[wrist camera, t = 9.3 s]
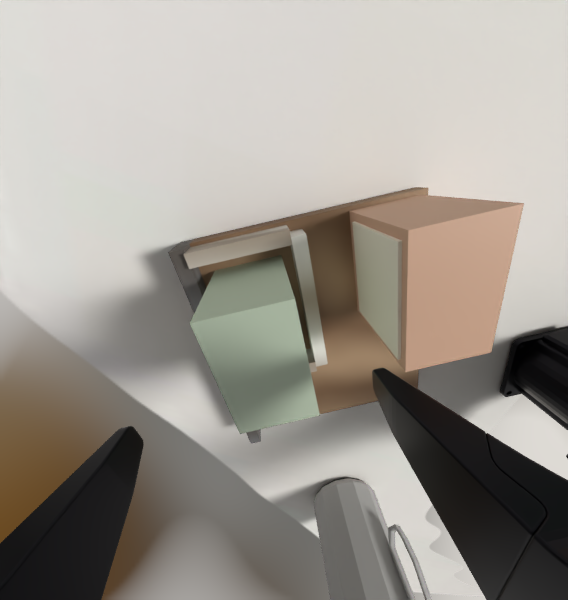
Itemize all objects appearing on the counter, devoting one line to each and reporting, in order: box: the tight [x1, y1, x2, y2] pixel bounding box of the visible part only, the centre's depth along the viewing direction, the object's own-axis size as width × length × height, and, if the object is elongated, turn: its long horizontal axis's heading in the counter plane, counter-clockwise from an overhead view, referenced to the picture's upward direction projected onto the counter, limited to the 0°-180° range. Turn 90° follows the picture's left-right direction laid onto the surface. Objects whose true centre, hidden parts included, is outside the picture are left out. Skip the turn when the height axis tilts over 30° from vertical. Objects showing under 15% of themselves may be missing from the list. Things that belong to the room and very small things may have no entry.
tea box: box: [190, 255, 320, 434], centre depth 13 cm, size 4×6×6 cm, turn 12°
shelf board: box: [168, 187, 428, 443], centre depth 17 cm, size 16×14×3 cm
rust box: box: [349, 195, 524, 372], centre depth 12 cm, size 4×6×6 cm, turn 12°
